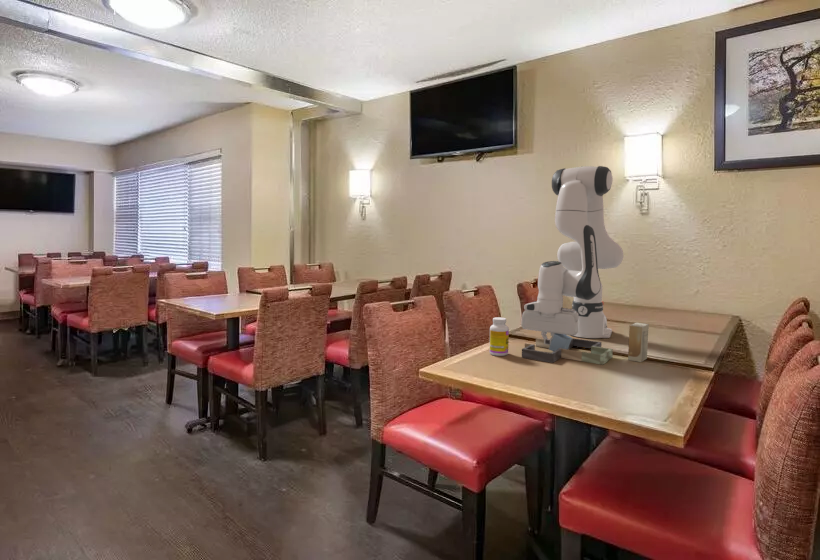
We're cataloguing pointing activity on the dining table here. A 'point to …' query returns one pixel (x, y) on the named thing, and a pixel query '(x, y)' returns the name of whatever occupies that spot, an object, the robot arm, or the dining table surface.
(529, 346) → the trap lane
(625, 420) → the dining table surface
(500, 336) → the supplement bottle
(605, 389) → the dining table surface
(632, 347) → the skincare box
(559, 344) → the block
